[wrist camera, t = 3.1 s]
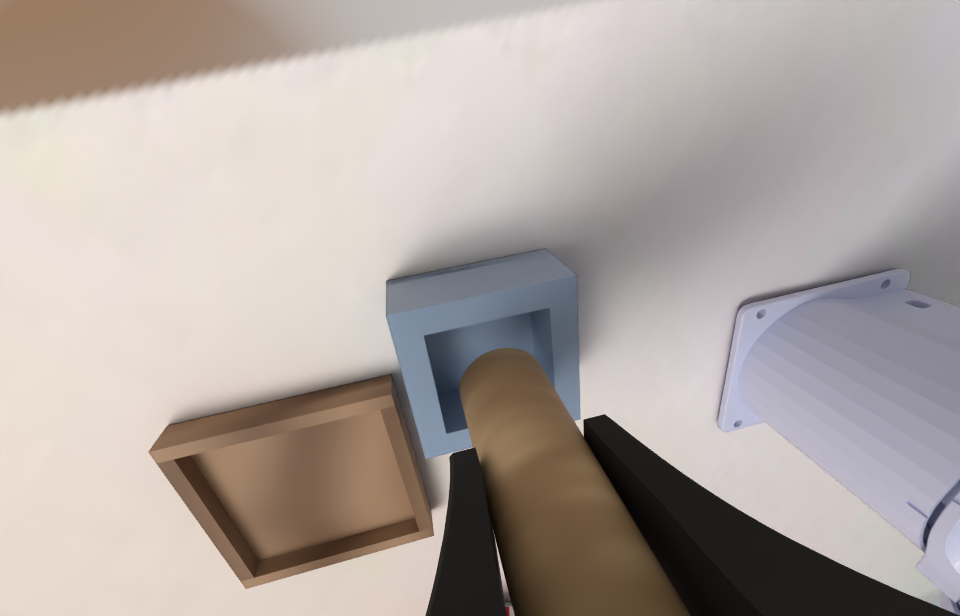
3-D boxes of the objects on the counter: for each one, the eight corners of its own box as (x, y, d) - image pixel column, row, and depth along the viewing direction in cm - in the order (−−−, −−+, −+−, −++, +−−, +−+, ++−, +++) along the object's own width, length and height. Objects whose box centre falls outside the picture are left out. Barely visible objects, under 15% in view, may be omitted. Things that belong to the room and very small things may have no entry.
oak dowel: (540, 339, 13) (758, 664, 5) (545, 407, 15) (726, 748, 7) (452, 359, 13) (548, 738, 5) (466, 427, 14) (559, 810, 6)
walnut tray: (391, 374, 17) (391, 394, 16) (431, 511, 21) (433, 535, 20) (166, 426, 16) (148, 452, 15) (254, 559, 20) (245, 588, 19)
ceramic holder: (545, 248, 16) (576, 275, 13) (553, 376, 19) (580, 419, 16) (386, 281, 15) (385, 315, 13) (420, 409, 18) (425, 459, 16)
